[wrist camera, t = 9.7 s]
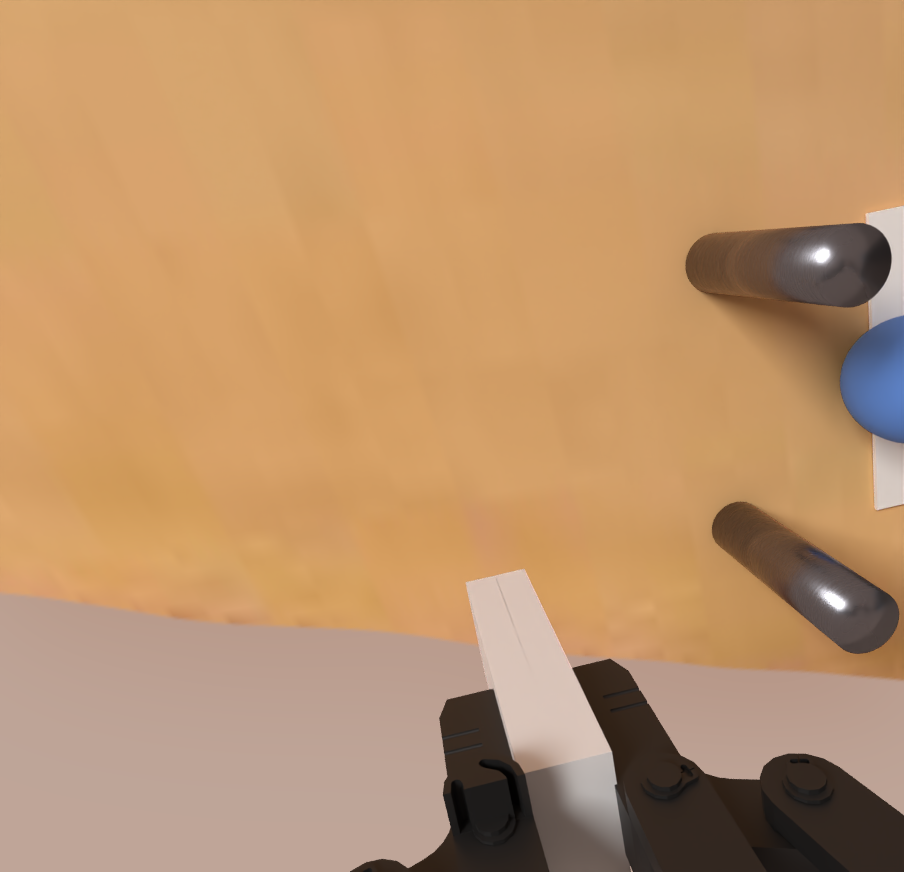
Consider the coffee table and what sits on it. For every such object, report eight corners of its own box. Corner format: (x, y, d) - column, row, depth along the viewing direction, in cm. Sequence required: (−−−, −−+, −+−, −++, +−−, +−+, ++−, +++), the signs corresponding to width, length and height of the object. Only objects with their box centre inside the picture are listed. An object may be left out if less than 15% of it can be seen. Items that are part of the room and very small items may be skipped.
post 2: (759, 496, 33) (898, 582, 24) (763, 543, 33) (899, 644, 25) (709, 508, 33) (830, 598, 24) (714, 555, 33) (833, 660, 25)
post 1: (738, 227, 29) (890, 215, 21) (743, 286, 30) (892, 298, 21) (682, 239, 29) (812, 232, 21) (688, 298, 30) (816, 314, 21)
